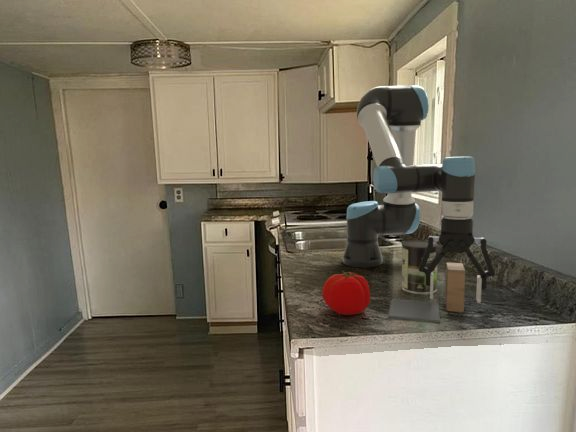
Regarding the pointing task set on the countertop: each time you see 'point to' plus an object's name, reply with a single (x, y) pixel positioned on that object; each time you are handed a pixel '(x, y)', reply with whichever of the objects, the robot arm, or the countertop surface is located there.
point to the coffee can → (417, 267)
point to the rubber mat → (414, 310)
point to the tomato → (346, 293)
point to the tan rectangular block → (455, 287)
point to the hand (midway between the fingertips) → (454, 299)
